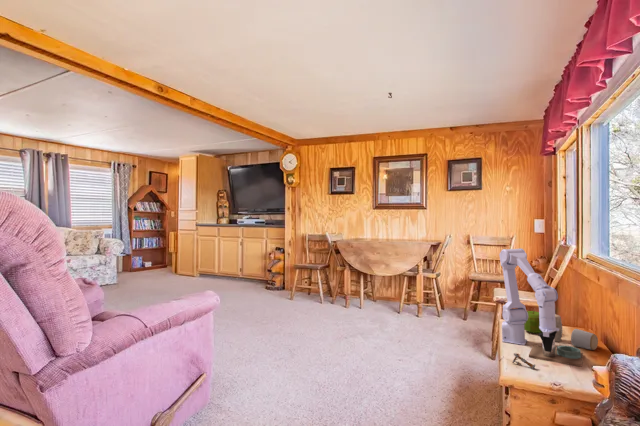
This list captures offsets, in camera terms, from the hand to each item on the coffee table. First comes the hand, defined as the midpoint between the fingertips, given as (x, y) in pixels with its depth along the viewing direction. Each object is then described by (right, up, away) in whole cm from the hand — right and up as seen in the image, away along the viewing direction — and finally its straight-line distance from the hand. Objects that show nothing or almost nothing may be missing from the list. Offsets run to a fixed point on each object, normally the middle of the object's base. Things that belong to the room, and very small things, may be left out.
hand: (548, 349), depth 149 cm
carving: (+16, -4, +21) cm, 26 cm away
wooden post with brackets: (-15, -4, -8) cm, 17 cm away
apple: (+14, -4, +33) cm, 36 cm away
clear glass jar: (0, -2, 0) cm, 2 cm away
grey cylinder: (+23, -3, +11) cm, 26 cm away
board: (+4, -3, +1) cm, 5 cm away
